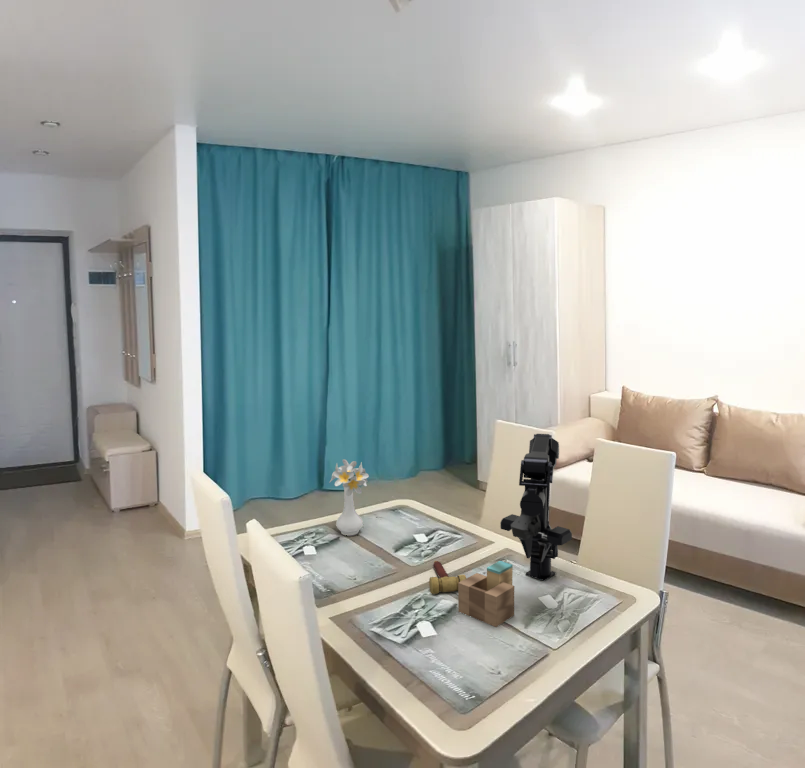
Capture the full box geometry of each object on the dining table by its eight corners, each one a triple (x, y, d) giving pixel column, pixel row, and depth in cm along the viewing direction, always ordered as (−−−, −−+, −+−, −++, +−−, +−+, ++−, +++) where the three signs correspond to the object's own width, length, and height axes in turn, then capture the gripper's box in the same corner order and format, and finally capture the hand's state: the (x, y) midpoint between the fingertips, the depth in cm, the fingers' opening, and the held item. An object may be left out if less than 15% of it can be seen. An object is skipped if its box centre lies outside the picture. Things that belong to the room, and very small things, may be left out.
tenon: (499, 598, 181) (500, 560, 179) (512, 603, 178) (512, 564, 177) (486, 606, 177) (486, 567, 175) (499, 611, 174) (499, 571, 172)
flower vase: (343, 545, 220) (341, 472, 217) (324, 528, 237) (322, 459, 233) (379, 538, 226) (378, 466, 222) (358, 521, 242) (356, 454, 239)
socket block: (476, 600, 180) (476, 572, 179) (514, 615, 172) (514, 586, 171) (458, 611, 174) (458, 582, 173) (496, 627, 166) (496, 596, 165)
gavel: (419, 555, 204) (451, 553, 205) (419, 570, 204) (451, 567, 206) (431, 580, 183) (467, 578, 184) (432, 597, 183) (467, 594, 185)
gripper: (488, 503, 175) (488, 559, 178) (550, 519, 163) (549, 580, 165) (512, 493, 183) (511, 547, 186) (573, 508, 171) (572, 566, 173)
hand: (534, 560), depth 177 cm, fingers open, 4 cm apart
